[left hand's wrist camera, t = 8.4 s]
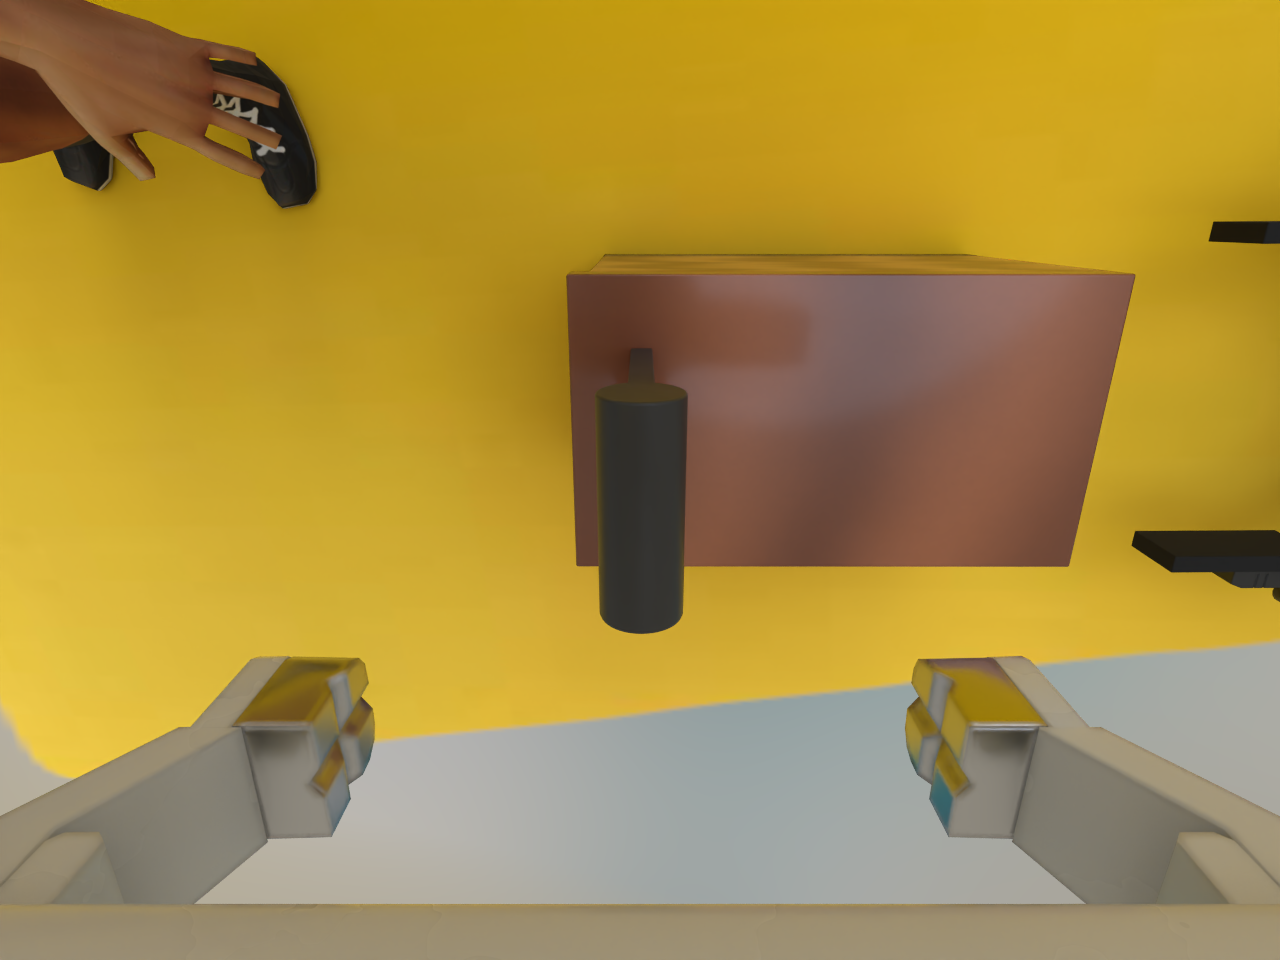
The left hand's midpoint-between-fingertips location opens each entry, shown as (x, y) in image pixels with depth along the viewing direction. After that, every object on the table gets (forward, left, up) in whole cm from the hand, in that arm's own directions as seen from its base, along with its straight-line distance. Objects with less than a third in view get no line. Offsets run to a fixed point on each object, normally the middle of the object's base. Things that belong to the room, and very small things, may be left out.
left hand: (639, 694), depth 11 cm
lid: (+7, 0, -16) cm, 17 cm away
